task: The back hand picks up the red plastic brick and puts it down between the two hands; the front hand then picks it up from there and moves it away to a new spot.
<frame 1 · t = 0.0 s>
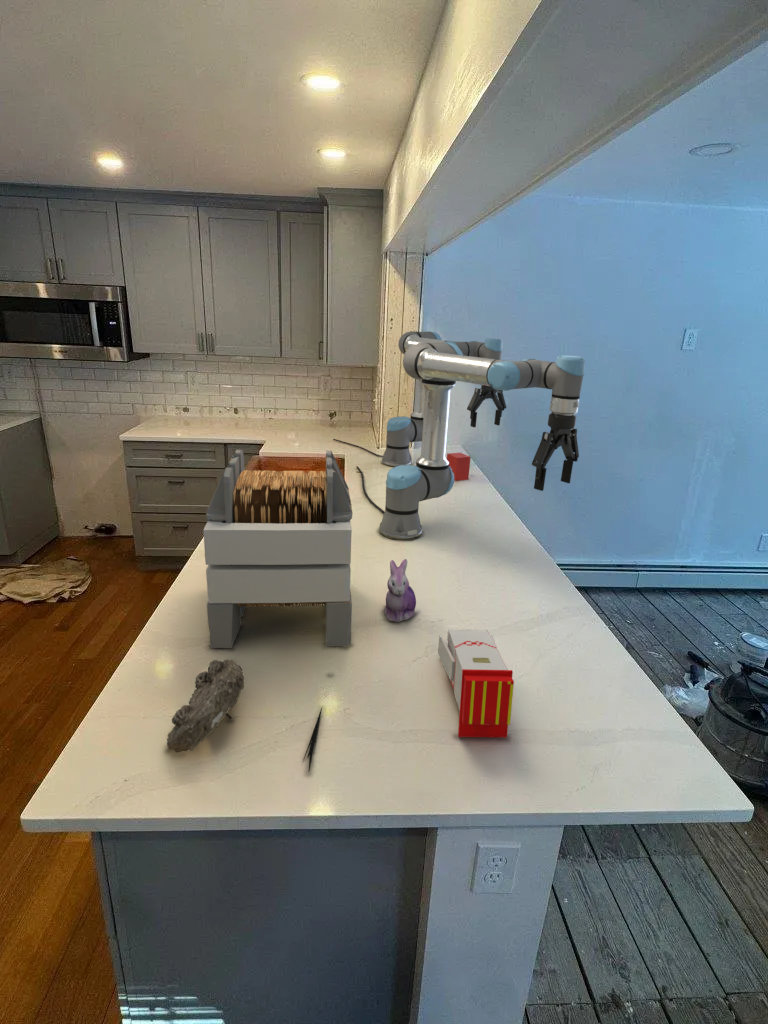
front hand: (552, 485, 166), 28 cm above the counter, tool pointing down, fingers open, 13 cm apart
back hand: (485, 425, 248), 28 cm above the counter, tool pointing down, fingers open, 13 cm apart
toy: (469, 691, 119), on the counter
feather: (319, 719, 109), on the counter
record crate: (284, 612, 146), on the counter
fossil: (212, 717, 108), on the counter
brick: (456, 477, 270), on the counter
figurine: (399, 614, 147), on the counter
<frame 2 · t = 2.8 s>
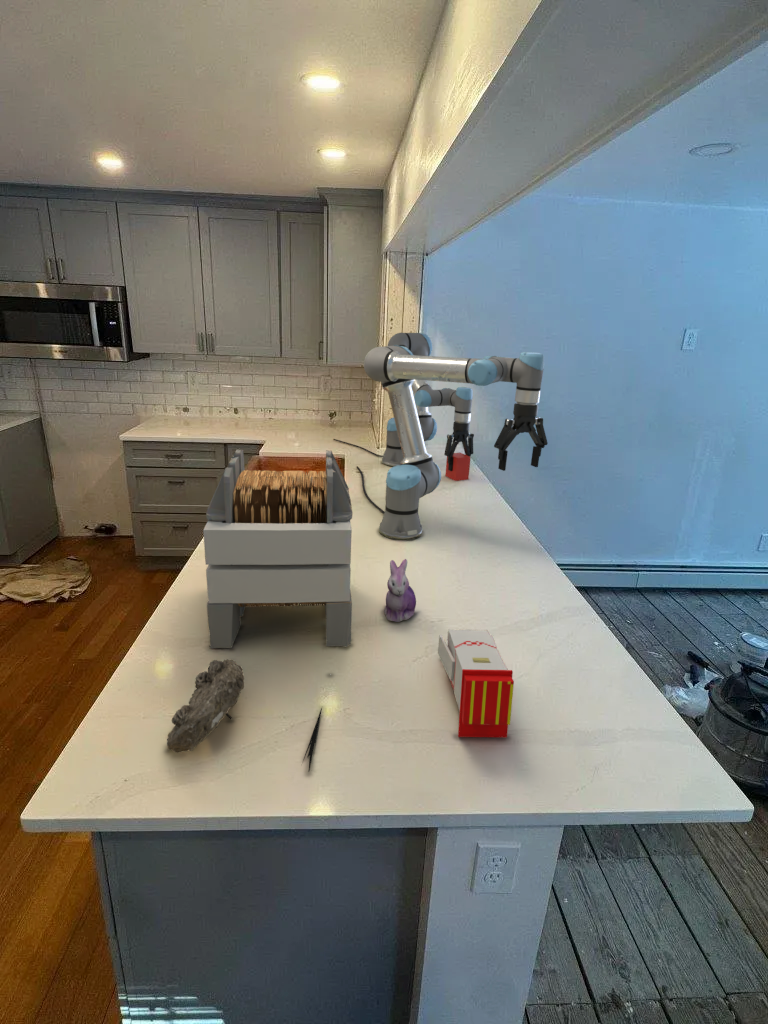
front hand: (518, 468, 187), 27 cm above the counter, tool pointing down, fingers open, 13 cm apart
back hand: (457, 469, 269), 4 cm above the counter, tool pointing down, fingers closed on brick, 7 cm apart
brick: (456, 477, 270), on the counter, touching back hand
everything else where it was.
when the back hand's fingers open (6 cm above the counter, at t = 7.6 s): brick drops 2 cm, on the counter.
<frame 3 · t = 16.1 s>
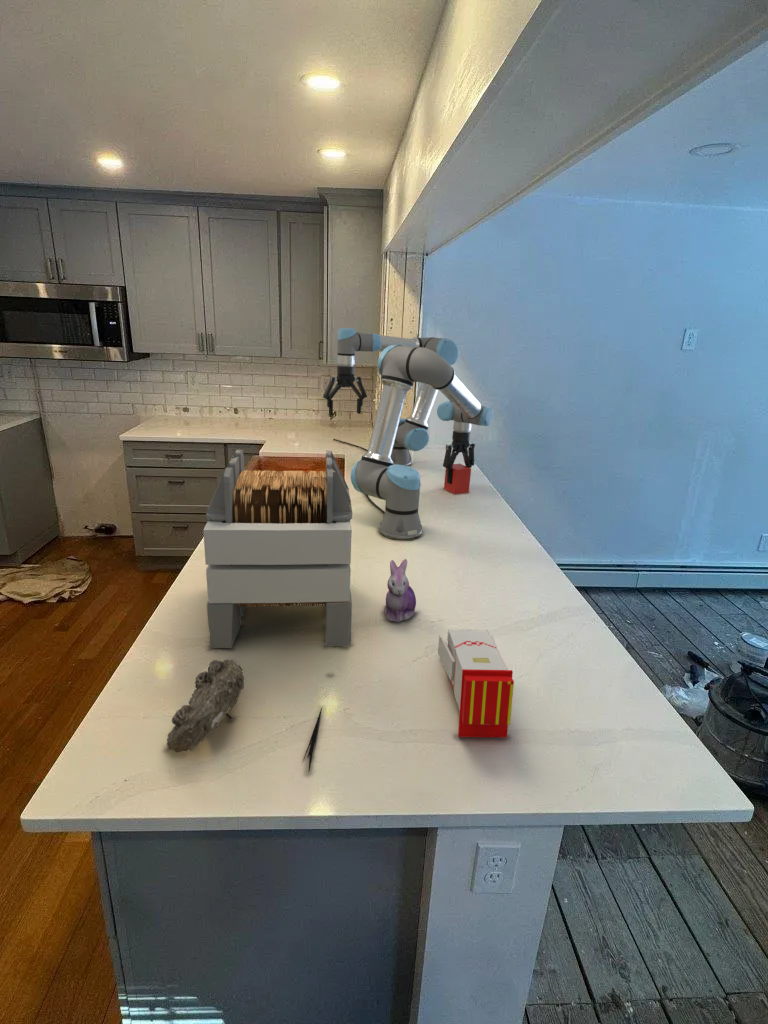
front hand: (457, 482, 249), 4 cm above the counter, tool pointing down, fingers closed on brick, 7 cm apart
back hand: (344, 414, 254), 29 cm above the counter, tool pointing down, fingers open, 13 cm apart
brick: (456, 490, 251), on the counter, touching front hand
everything else where it was.
when the front hand's fingers open (6 cm above the counter, at t = 23.8 s): brick drops 2 cm, on the counter.
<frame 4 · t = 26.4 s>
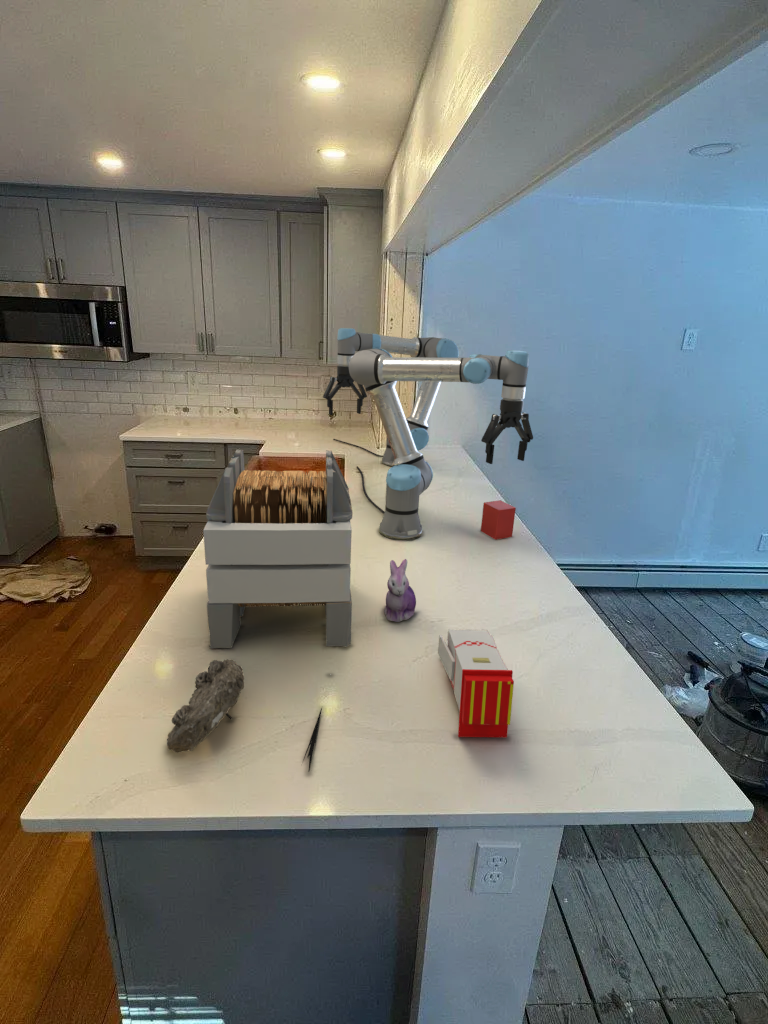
front hand: (505, 461, 195), 27 cm above the counter, tool pointing down, fingers open, 13 cm apart
back hand: (344, 414, 254), 29 cm above the counter, tool pointing down, fingers open, 13 cm apart
brick: (496, 534, 204), on the counter
everything else where it was.
at the end: brick inside the target area (0.1 cm from its centre), on the counter; brick tilted 0°; the two hands never held the brick at the same time; the front hand is holding nothing; the back hand is holding nothing; brick at rest at the end (0.0 cm/s) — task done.
